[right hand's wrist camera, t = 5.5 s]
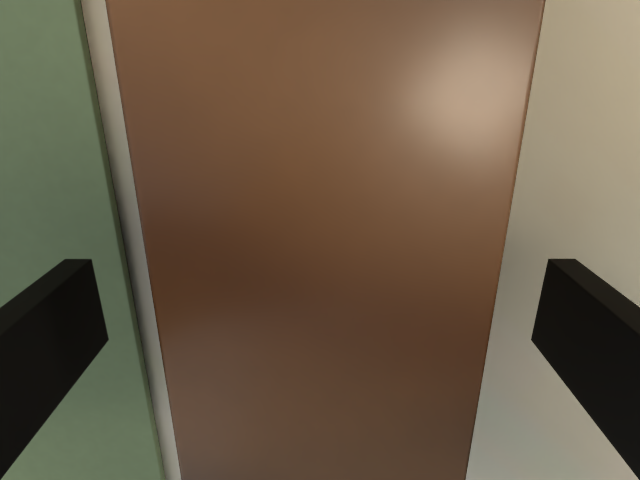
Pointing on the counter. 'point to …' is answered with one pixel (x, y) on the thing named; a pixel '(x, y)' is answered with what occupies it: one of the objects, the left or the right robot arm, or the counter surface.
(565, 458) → the counter surface
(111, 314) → the mat
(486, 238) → the walnut box
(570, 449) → the counter surface
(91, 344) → the right robot arm
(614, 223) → the counter surface
